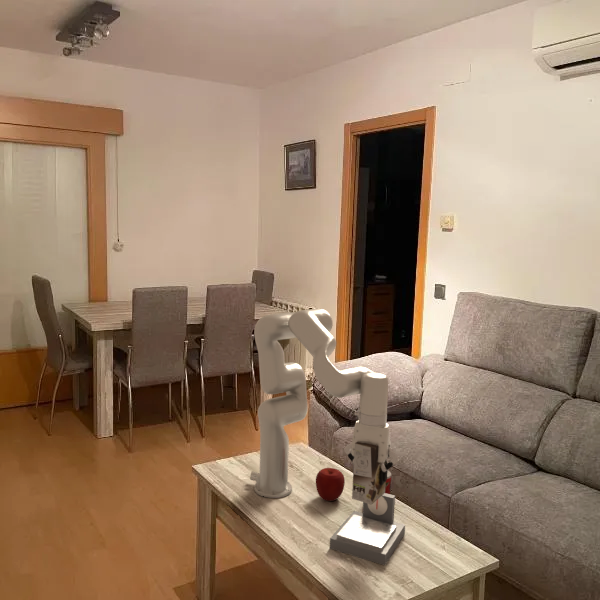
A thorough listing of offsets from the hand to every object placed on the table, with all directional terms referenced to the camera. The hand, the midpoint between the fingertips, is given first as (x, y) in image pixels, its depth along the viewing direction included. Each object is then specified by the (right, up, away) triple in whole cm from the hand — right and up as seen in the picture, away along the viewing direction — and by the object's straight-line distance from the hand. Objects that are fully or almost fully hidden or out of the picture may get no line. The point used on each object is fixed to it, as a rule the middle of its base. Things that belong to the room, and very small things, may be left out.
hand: (369, 479), depth 160 cm
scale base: (0, -19, +4) cm, 19 cm away
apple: (-10, -15, +29) cm, 34 cm away
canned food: (+5, -16, +26) cm, 31 cm away
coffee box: (0, -5, +1) cm, 5 cm away
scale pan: (-1, -16, +2) cm, 16 cm away
